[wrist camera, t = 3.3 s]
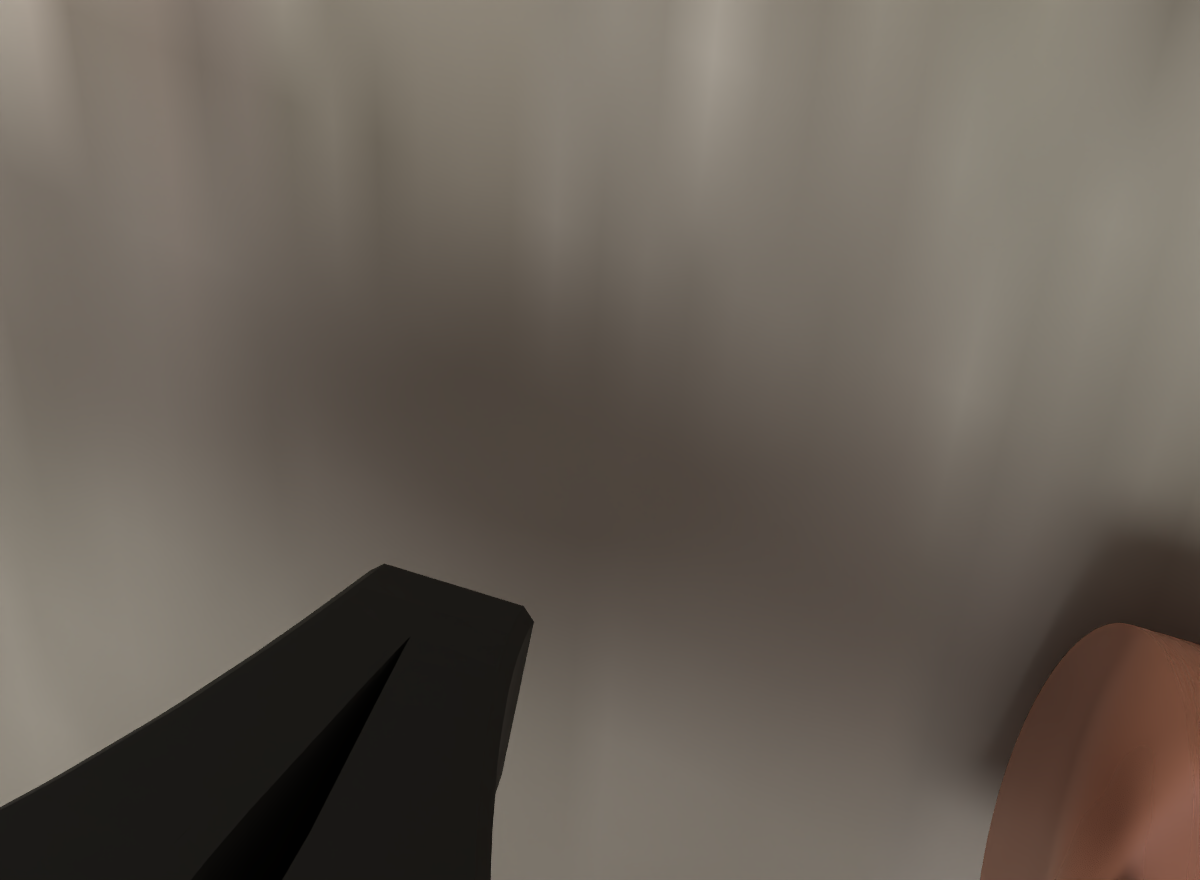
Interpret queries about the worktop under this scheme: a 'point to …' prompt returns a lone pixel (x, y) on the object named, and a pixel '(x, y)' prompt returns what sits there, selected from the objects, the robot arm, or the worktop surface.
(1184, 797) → the outer knob
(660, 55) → the worktop surface
